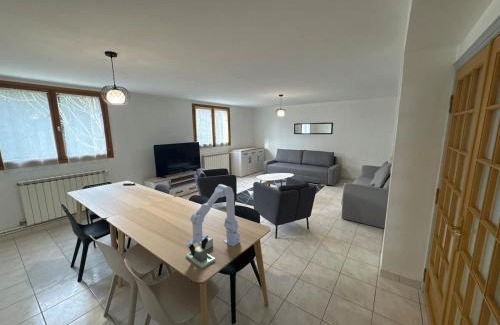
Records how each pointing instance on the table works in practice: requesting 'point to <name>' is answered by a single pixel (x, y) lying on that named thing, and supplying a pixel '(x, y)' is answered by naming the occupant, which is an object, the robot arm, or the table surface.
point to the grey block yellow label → (200, 254)
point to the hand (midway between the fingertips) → (198, 252)
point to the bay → (209, 243)
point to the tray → (200, 264)
